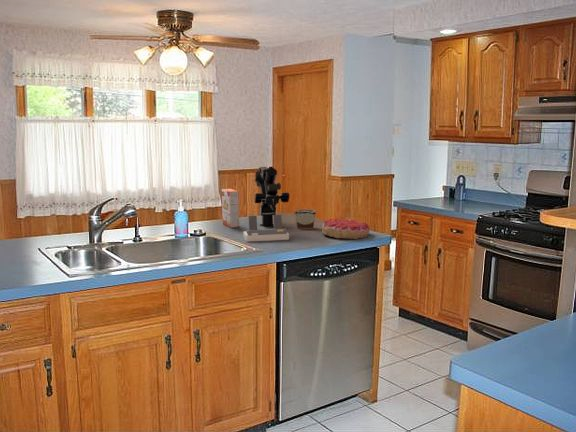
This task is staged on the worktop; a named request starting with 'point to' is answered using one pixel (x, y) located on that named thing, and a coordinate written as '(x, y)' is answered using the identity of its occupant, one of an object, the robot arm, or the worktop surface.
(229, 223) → the cracker box
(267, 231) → the switch panel
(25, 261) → the worktop surface
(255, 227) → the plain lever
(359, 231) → the cake
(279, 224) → the grey rectangular carton
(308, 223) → the food container
